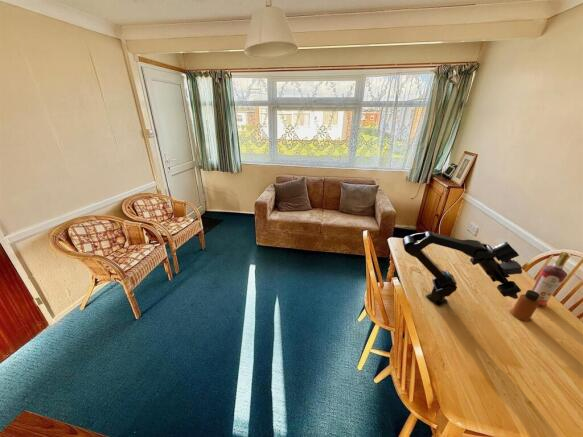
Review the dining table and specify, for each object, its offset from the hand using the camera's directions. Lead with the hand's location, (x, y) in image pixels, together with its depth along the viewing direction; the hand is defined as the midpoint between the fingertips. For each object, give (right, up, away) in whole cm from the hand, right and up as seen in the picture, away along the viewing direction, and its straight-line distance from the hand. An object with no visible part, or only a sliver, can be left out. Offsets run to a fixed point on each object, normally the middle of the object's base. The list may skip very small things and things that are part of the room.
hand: (510, 290), depth 99 cm
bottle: (+7, -12, +3) cm, 15 cm away
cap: (+7, -1, -2) cm, 8 cm away
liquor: (+22, -9, +10) cm, 26 cm away
